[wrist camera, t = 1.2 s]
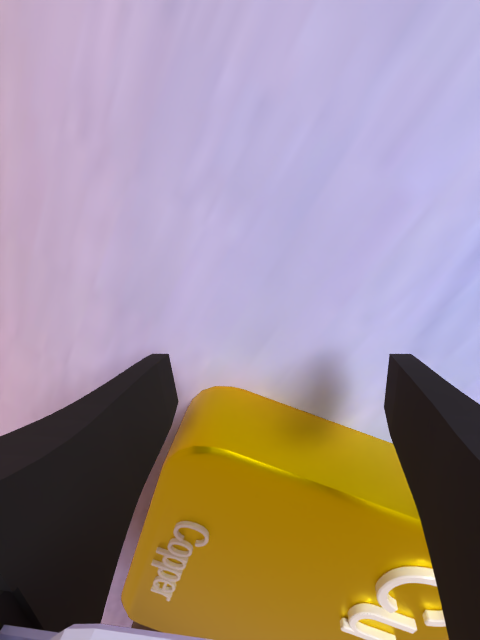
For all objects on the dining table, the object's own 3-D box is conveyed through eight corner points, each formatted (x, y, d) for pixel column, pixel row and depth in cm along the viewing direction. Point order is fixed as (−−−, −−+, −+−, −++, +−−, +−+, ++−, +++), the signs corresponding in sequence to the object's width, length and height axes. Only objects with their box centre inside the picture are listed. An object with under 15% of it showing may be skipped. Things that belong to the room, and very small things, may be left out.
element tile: (201, 367, 17) (167, 443, 12) (499, 476, 17) (566, 588, 13) (143, 541, 24) (108, 628, 19) (354, 617, 24) (366, 720, 19)
